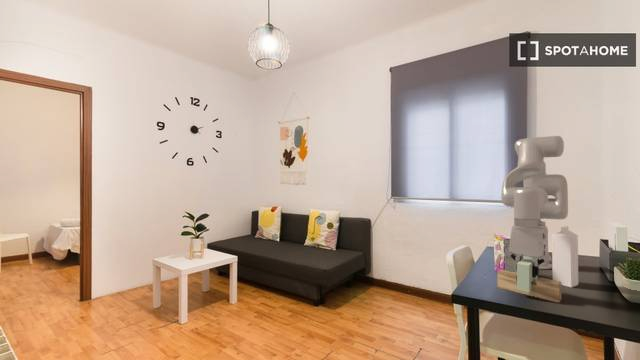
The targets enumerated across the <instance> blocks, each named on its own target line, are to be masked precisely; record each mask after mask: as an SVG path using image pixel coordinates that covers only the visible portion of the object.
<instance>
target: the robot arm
mask: <svg viewBox="0 0 640 360" xmlns="http://www.w3.org/2000/svg"><path fill="white" fill-rule="evenodd" d="M564 149H565V142H564V139H563V138H562V136H561V135H553V136H551V135H550V136H549V135H548V136H540V137H539V136H537V137H536V136H535V137H526V138H520V139H518V140H516V141H515V143H514V150H515V152H516V155H517V166H516V167H515V168H514V169H512V170H511V171H509V173H508V174H507V175H505V177H504V179H503V182H502V187H501V196H500V197H501V202H502V204H503V205H504V206H506V207H511V208H512V207H513V225H512V226H511V230H510V246H509V247H508V248H507V250H506V251H505V253H506V254H508V255H509V256H511V257H512V258H513V259H514V260H515V262H516V264H517V263H518V262H520V261H521V260H523V259H524V258H531V259H533V263H534V264H533V266H532V277H533V278H535V277H536V276H537V275H538V276H539V274H540V273H539V272H540V269H541V270H549V269H550V270H551V269H552V263H550V262H549V261H551V260H552V257H551V255H550V254H549V230H548V227H547V224H546V221H543V220H544V219H545V220H565V219H567V217H568V214H569V195H568V194H569V193H568V189H569V188H568V181H567V179H566V176H564V175H562V174H551V173H550V174H548V173H547V172H546V168H547V167H546V166H547V165H546V163H545V161H544V160H545V159H544V158H560V157H561V156H562V155H563V153H564ZM522 181H523V183H522V184H523V186H521V187H520V186H519V187H517V186H516V187H513V186H514V185H515V184H517V183H520V182H522ZM549 196H553V197H554V198H552V197H551V198H549ZM515 254H516V255H515Z"/></svg>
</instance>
